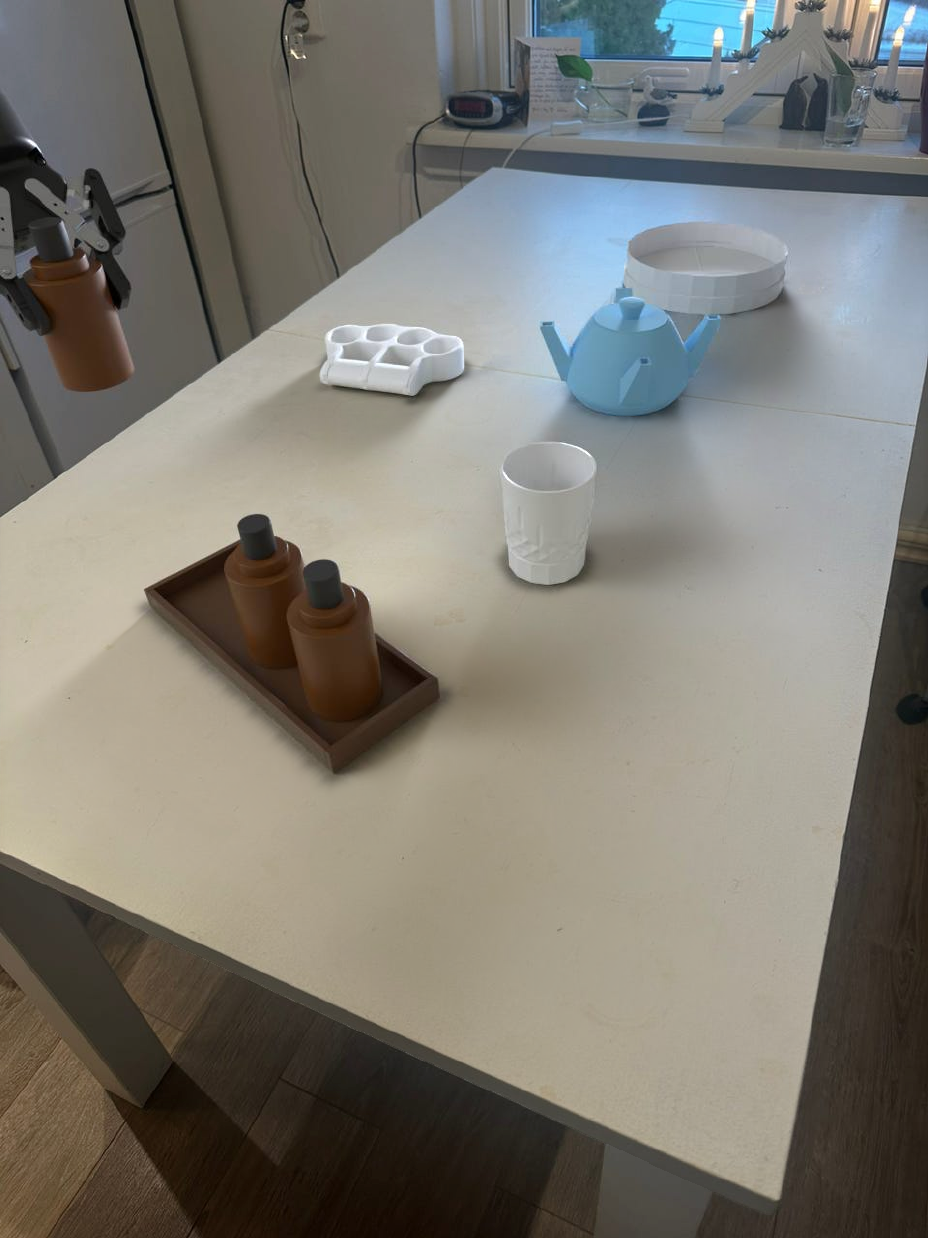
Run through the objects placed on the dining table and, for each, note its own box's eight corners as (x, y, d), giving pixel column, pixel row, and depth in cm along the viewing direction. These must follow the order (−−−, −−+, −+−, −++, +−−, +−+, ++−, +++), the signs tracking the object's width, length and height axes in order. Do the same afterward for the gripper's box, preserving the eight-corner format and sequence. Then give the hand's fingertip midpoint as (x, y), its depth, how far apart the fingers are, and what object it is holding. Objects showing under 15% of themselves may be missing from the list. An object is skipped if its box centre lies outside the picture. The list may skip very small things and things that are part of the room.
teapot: (720, 389, 101) (735, 297, 94) (639, 439, 93) (649, 342, 86) (615, 352, 109) (622, 264, 102) (534, 394, 102) (535, 303, 95)
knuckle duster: (298, 388, 106) (350, 338, 116) (436, 406, 101) (477, 353, 111) (293, 362, 104) (346, 313, 114) (434, 379, 99) (477, 327, 109)
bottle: (90, 398, 68) (33, 240, 60) (46, 381, 71) (-14, 227, 63) (149, 370, 72) (102, 216, 64) (105, 354, 74) (56, 204, 66)
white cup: (484, 567, 78) (480, 471, 71) (536, 526, 82) (537, 432, 76) (556, 602, 74) (560, 503, 67) (607, 556, 78) (615, 459, 72)
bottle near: (319, 732, 63) (290, 608, 55) (297, 681, 67) (267, 558, 60) (394, 706, 65) (376, 581, 57) (368, 658, 69) (348, 535, 61)
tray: (150, 607, 76) (143, 589, 75) (248, 555, 81) (244, 536, 80) (333, 774, 61) (329, 755, 60) (440, 697, 66) (438, 678, 65)
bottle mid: (257, 678, 68) (222, 556, 60) (240, 633, 72) (205, 513, 64) (328, 655, 70) (303, 532, 62) (308, 612, 74) (282, 492, 66)
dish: (768, 254, 132) (775, 219, 128) (796, 314, 115) (804, 275, 112) (619, 256, 134) (622, 222, 131) (626, 315, 118) (629, 277, 114)
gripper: (-147, 102, 59) (-7, 321, 60) (56, 66, 66) (178, 263, 67) (-133, 174, 65) (-6, 371, 67) (51, 134, 72) (162, 312, 74)
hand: (86, 315), depth 67 cm, fingers closed on bottle, 6 cm apart
